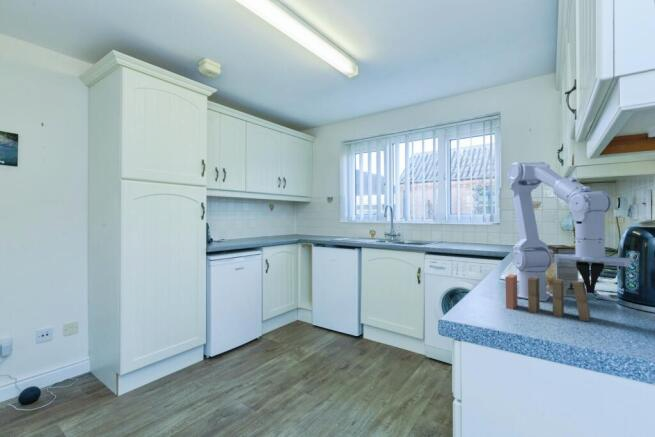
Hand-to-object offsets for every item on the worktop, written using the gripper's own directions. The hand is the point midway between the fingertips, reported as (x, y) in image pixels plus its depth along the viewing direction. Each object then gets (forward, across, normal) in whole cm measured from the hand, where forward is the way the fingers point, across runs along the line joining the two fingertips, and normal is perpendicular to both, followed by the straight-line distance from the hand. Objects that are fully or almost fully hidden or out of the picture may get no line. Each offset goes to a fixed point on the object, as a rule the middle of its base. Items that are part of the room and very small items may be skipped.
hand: (590, 292), depth 77 cm
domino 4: (+7, -1, 0) cm, 7 cm away
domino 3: (+7, -7, 0) cm, 10 cm away
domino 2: (+7, -12, 0) cm, 14 cm away
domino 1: (+7, -18, 0) cm, 19 cm away
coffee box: (+7, -9, +27) cm, 29 cm away
